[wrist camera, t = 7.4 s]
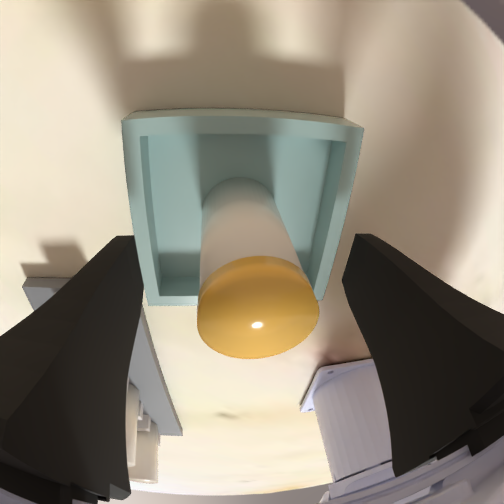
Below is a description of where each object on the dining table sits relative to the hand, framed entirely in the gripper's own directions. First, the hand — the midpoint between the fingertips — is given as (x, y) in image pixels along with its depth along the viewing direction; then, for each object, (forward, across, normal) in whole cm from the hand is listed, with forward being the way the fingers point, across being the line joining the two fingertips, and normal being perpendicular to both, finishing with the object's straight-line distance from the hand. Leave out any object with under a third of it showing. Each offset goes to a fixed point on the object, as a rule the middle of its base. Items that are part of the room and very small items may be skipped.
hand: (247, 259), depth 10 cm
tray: (+4, 0, 0) cm, 4 cm away
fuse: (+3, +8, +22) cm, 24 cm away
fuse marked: (+3, 0, 0) cm, 3 cm away
